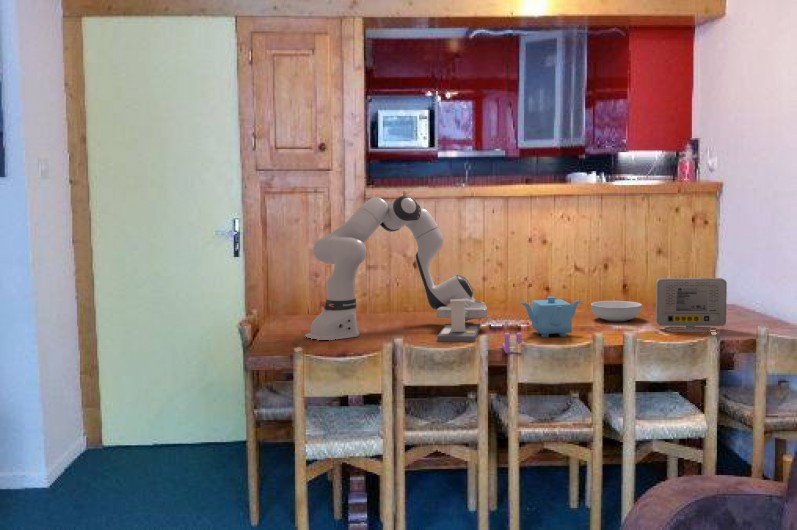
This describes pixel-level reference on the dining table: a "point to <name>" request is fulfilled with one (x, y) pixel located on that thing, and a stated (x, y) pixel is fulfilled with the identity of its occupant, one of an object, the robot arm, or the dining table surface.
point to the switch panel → (459, 333)
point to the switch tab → (458, 315)
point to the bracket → (506, 344)
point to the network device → (691, 303)
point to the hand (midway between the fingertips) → (460, 315)
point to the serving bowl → (616, 310)
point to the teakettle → (551, 316)
